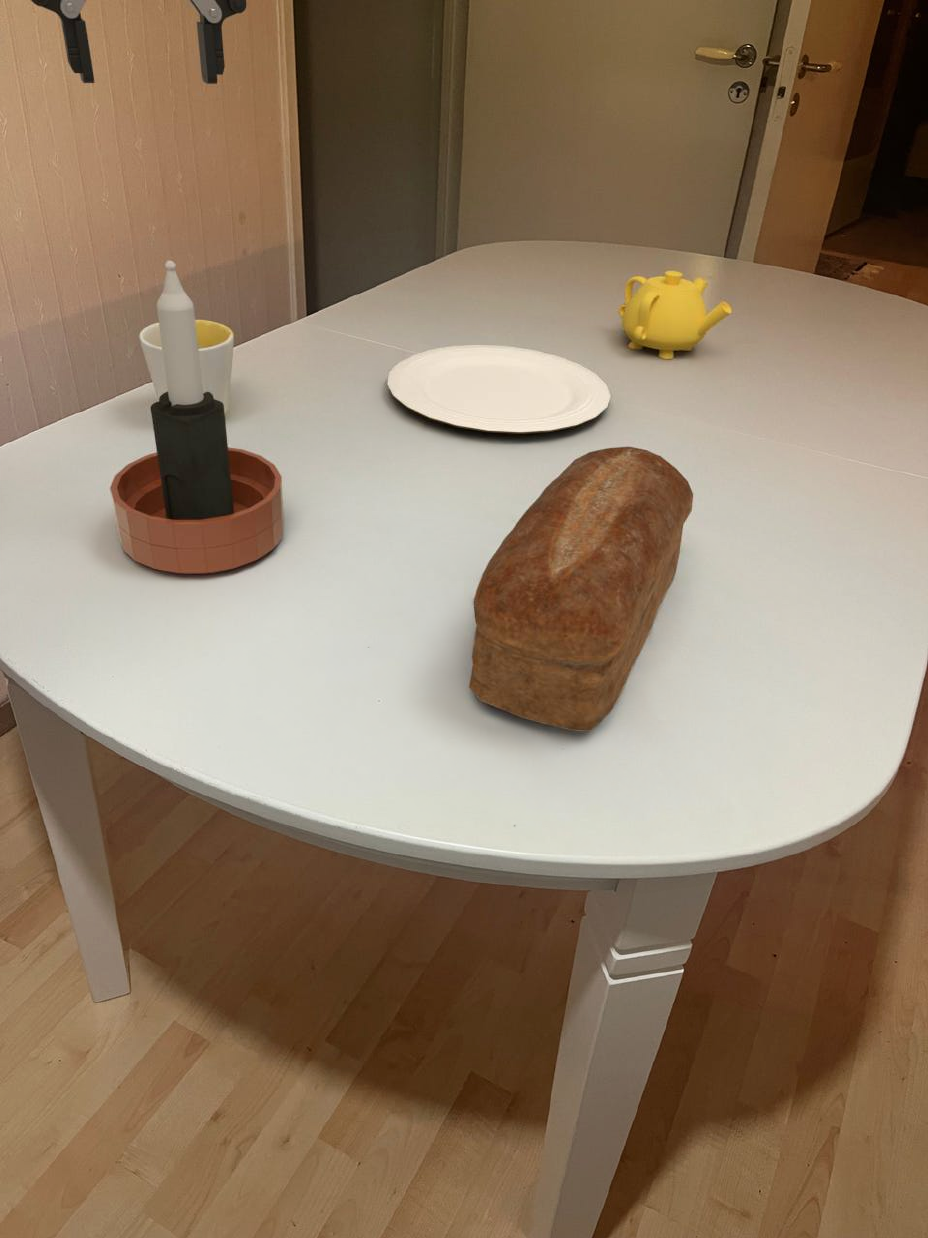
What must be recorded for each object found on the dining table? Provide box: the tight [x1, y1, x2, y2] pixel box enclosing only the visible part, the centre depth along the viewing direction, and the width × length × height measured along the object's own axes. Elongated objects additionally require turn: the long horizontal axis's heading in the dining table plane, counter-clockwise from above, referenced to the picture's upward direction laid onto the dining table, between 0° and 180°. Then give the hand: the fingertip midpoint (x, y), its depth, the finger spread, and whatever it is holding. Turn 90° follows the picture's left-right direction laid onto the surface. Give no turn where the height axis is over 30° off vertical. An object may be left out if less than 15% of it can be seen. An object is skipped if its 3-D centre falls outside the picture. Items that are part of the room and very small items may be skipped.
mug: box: [138, 318, 235, 415], centre depth 108 cm, size 14×10×10 cm
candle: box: [150, 260, 234, 520], centre depth 81 cm, size 5×5×25 cm
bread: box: [468, 446, 694, 732], centre depth 77 cm, size 12×31×14 cm, turn 157°
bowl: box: [109, 446, 285, 575], centre depth 87 cm, size 15×15×6 cm
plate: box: [387, 344, 611, 435], centre depth 121 cm, size 29×29×2 cm
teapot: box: [618, 270, 732, 360], centre depth 138 cm, size 14×14×11 cm
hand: (149, 82), depth 67 cm, fingers open, 8 cm apart
